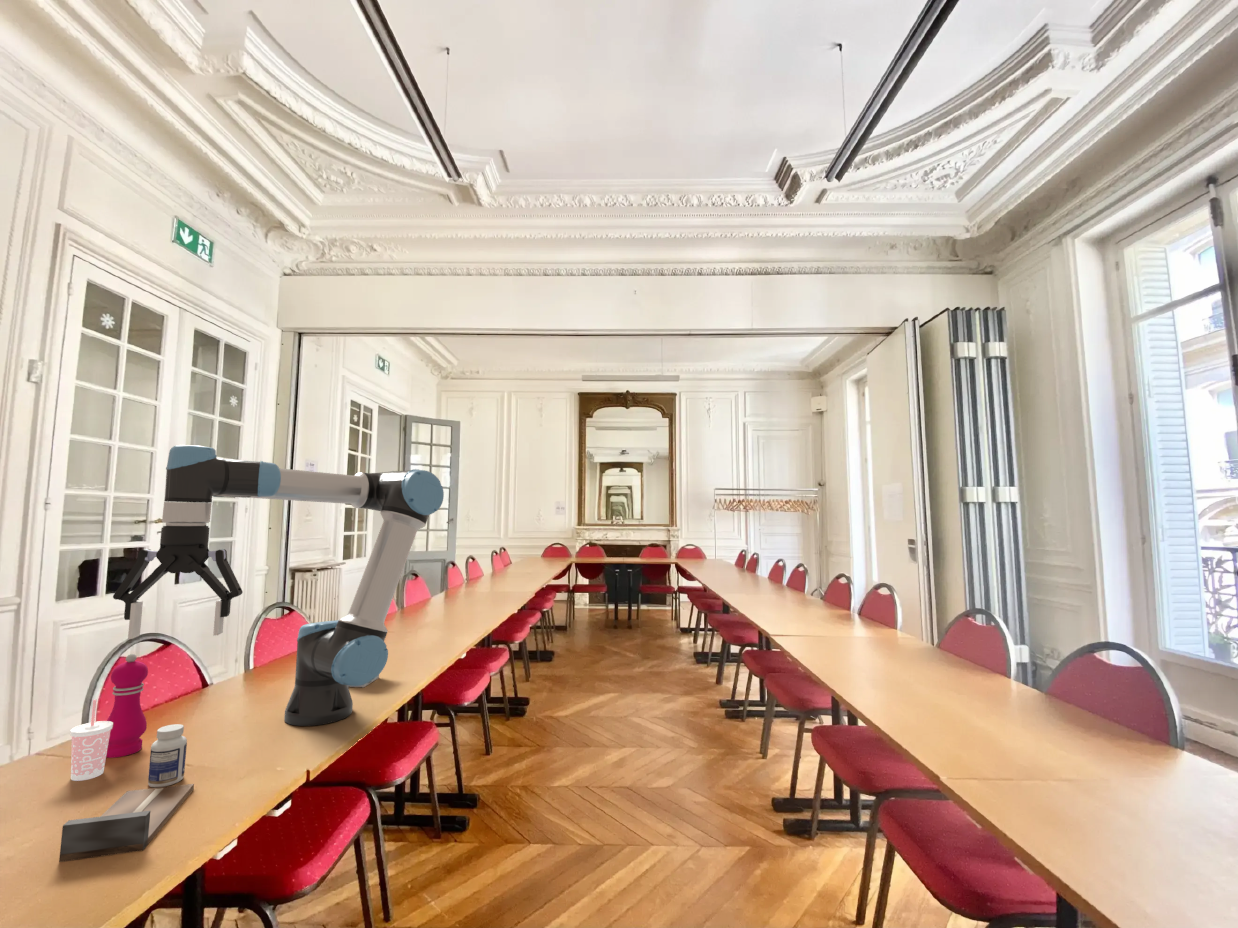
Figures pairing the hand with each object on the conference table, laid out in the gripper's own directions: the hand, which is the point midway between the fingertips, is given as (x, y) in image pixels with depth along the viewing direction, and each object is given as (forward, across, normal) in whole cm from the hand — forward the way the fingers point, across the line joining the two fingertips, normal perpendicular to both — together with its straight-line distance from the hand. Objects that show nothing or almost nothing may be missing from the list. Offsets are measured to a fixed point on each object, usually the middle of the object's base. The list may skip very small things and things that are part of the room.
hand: (176, 635), depth 110 cm
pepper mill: (+27, +14, -18) cm, 35 cm away
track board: (+27, -2, +15) cm, 31 cm away
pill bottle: (+27, 0, 0) cm, 27 cm away
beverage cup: (+27, +15, -7) cm, 31 cm away
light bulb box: (+27, -28, -59) cm, 71 cm away
